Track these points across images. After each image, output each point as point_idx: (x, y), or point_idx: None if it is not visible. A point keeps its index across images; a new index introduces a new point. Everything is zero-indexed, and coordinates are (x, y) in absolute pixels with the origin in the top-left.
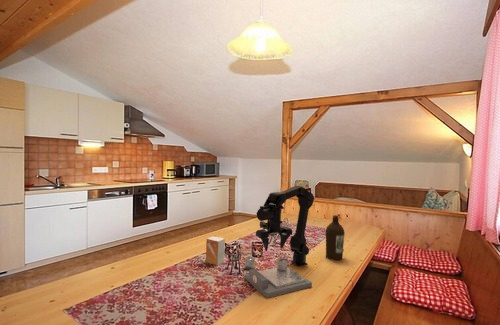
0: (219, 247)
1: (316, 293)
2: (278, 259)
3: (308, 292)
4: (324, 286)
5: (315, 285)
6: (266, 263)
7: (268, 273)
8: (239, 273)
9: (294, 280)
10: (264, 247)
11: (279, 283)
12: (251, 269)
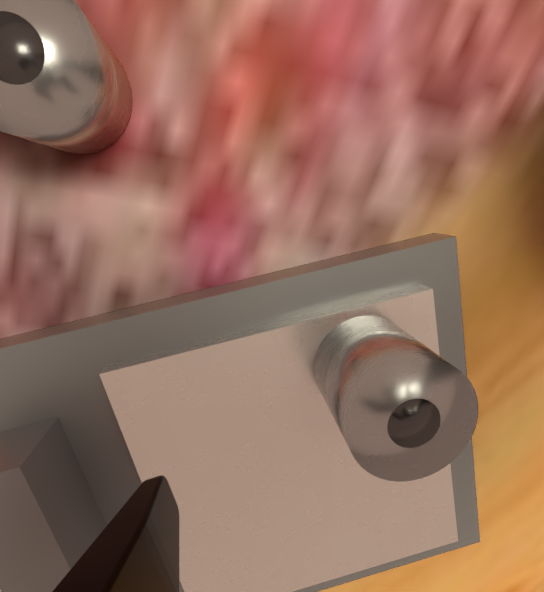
0: None
1: (437, 581)
2: (364, 413)
3: (400, 571)
4: (534, 516)
5: (492, 501)
6: (309, 9)
7: (199, 426)
8: None
9: (366, 554)
10: (99, 548)
11: (233, 590)
12: (87, 152)
